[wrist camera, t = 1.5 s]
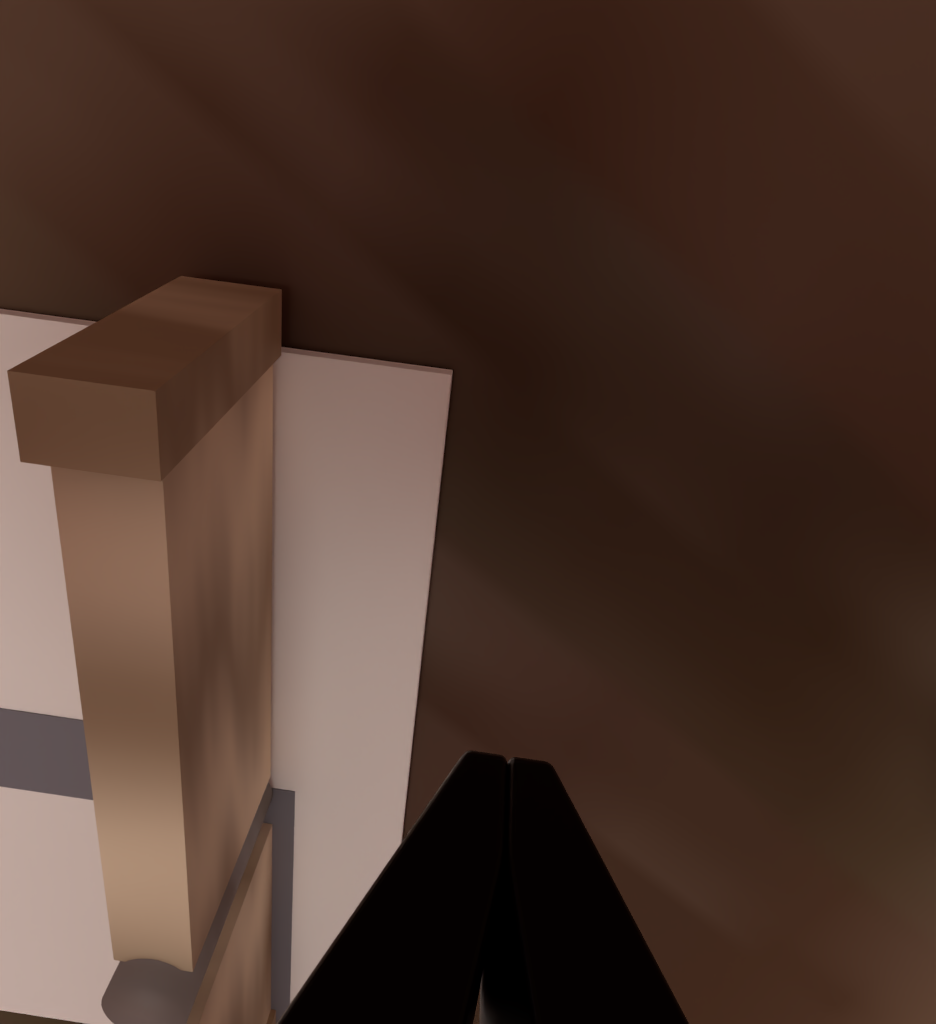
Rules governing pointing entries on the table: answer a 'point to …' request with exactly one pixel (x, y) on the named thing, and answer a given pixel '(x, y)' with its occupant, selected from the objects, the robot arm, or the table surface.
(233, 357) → the brown tall flat block
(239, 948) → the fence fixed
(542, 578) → the table surface
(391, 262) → the table surface
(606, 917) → the robot arm
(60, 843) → the board
